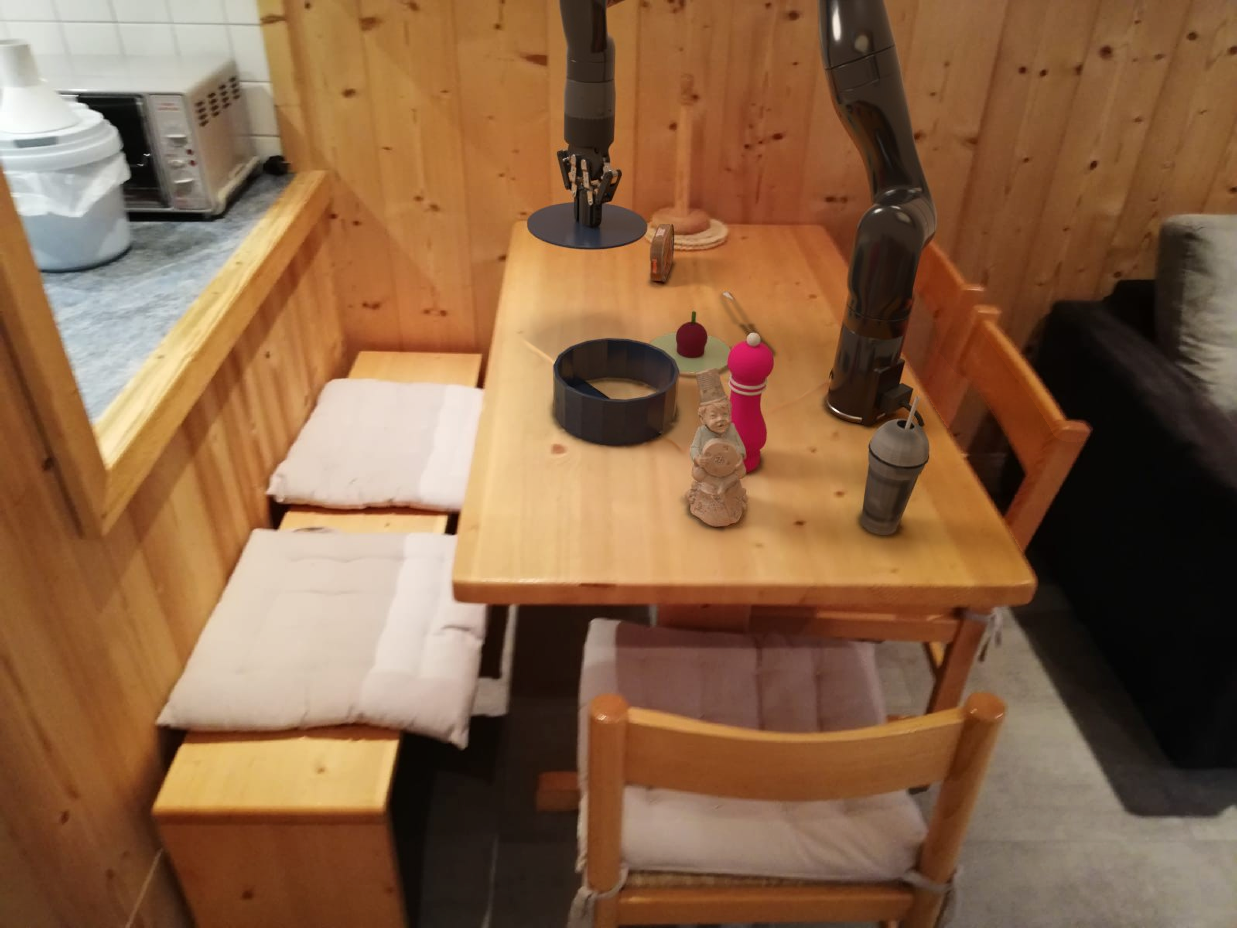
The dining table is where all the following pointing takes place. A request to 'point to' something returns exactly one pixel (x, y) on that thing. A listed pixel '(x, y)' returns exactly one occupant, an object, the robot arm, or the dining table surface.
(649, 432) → the pan
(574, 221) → the pan lid
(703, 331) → the beet
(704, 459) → the figurine
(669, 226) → the tin
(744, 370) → the pepper mill
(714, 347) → the plate
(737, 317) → the dining table surface
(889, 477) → the beverage cup
